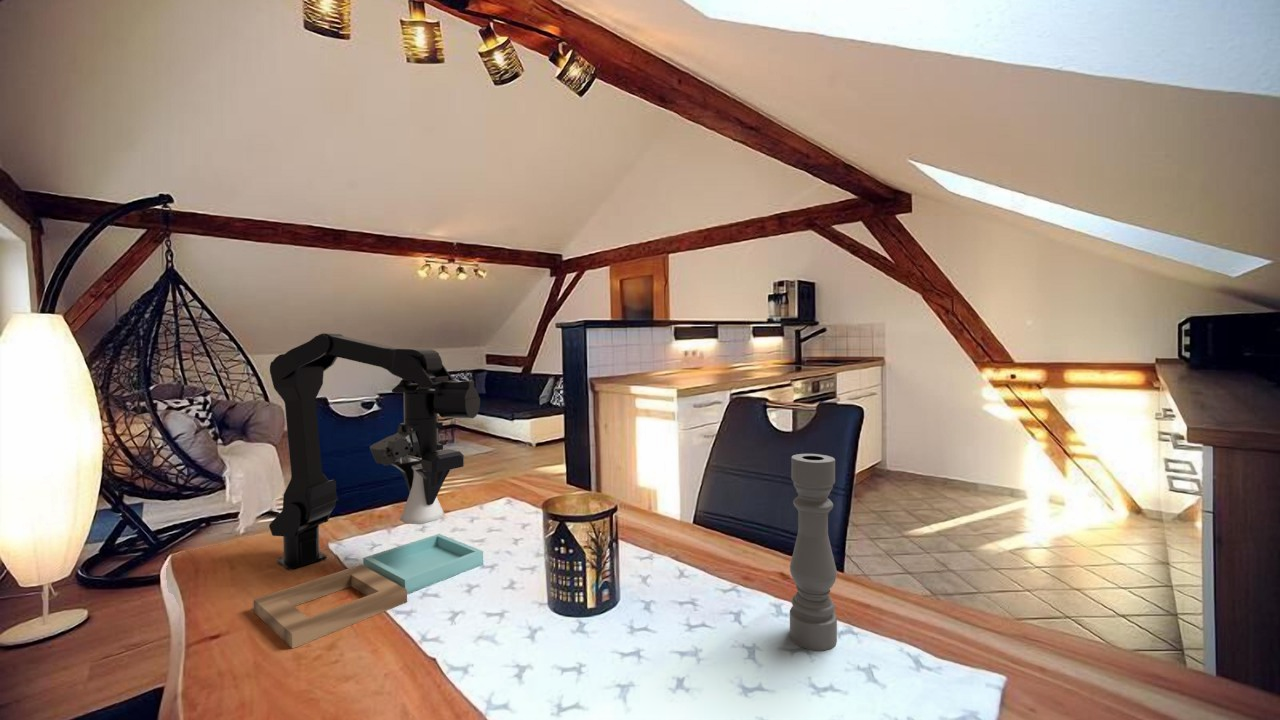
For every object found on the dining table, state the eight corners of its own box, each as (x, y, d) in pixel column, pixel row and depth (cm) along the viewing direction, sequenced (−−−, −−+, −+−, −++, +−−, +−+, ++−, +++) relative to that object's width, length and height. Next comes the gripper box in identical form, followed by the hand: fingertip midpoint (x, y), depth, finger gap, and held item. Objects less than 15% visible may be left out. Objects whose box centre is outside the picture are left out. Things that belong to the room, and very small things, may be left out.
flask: (392, 522, 94) (391, 467, 93) (424, 510, 100) (424, 459, 100) (420, 528, 90) (419, 471, 90) (452, 516, 97) (451, 463, 97)
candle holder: (813, 655, 67) (813, 465, 67) (780, 632, 73) (779, 456, 72) (847, 642, 70) (847, 459, 69) (812, 621, 76) (812, 451, 75)
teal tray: (363, 571, 94) (363, 557, 94) (439, 545, 106) (439, 533, 106) (405, 595, 85) (405, 580, 85) (483, 564, 97) (483, 551, 97)
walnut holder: (253, 612, 80) (253, 599, 80) (361, 575, 92) (361, 564, 92) (292, 648, 70) (292, 634, 70) (407, 602, 83) (406, 589, 83)
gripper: (352, 418, 94) (353, 503, 94) (403, 427, 83) (405, 524, 83) (411, 411, 103) (412, 489, 103) (465, 419, 91) (466, 507, 92)
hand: (422, 501), depth 95 cm, fingers closed on flask, 5 cm apart
